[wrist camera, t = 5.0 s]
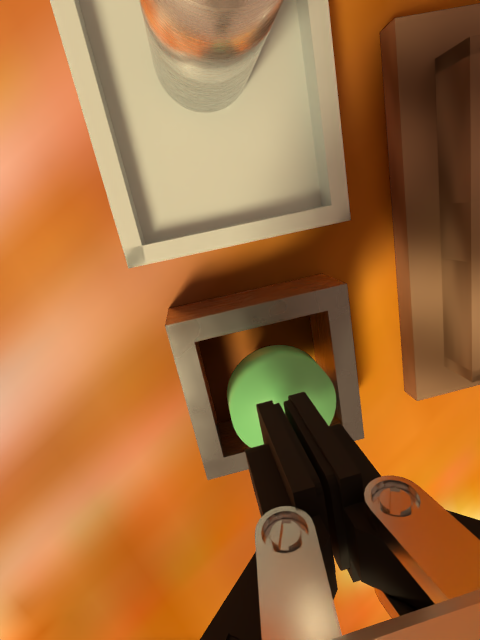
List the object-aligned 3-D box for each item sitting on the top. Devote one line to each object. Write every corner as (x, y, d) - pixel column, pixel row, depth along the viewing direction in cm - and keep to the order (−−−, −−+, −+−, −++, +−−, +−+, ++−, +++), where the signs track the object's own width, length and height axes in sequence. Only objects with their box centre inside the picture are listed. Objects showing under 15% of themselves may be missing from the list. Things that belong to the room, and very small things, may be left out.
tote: (13, -157, 13) (-14, -216, 11) (287, -191, 13) (302, -250, 12) (134, 263, 17) (128, 268, 15) (335, 219, 18) (350, 219, 16)
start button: (213, 339, 18) (220, 373, 14) (299, 318, 18) (329, 346, 14) (231, 416, 19) (242, 466, 15) (311, 396, 19) (341, 439, 15)
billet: (140, 7, 14) (82, -247, 6) (240, -9, 14) (301, -270, 7) (166, 120, 15) (145, 22, 7) (258, 103, 15) (328, -8, 8)
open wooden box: (168, 308, 18) (165, 325, 15) (322, 273, 18) (347, 283, 16) (204, 442, 20) (207, 480, 17) (340, 407, 21) (364, 438, 18)
